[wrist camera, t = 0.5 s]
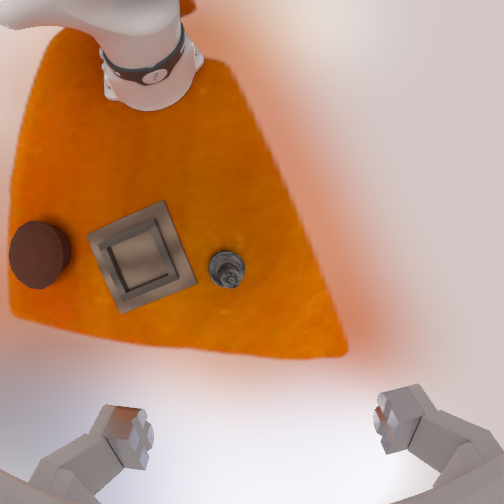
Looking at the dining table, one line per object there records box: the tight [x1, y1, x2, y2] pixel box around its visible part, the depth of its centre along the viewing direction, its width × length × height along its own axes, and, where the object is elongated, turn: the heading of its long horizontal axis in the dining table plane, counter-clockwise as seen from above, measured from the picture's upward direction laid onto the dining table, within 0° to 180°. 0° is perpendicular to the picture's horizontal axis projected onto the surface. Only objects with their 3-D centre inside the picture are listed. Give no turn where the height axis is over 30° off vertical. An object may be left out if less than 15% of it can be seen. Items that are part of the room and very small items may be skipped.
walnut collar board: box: [87, 200, 197, 314], centre depth 48 cm, size 15×15×4 cm
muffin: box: [9, 221, 71, 289], centre depth 42 cm, size 12×11×10 cm
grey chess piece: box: [209, 250, 245, 289], centre depth 46 cm, size 6×6×12 cm
